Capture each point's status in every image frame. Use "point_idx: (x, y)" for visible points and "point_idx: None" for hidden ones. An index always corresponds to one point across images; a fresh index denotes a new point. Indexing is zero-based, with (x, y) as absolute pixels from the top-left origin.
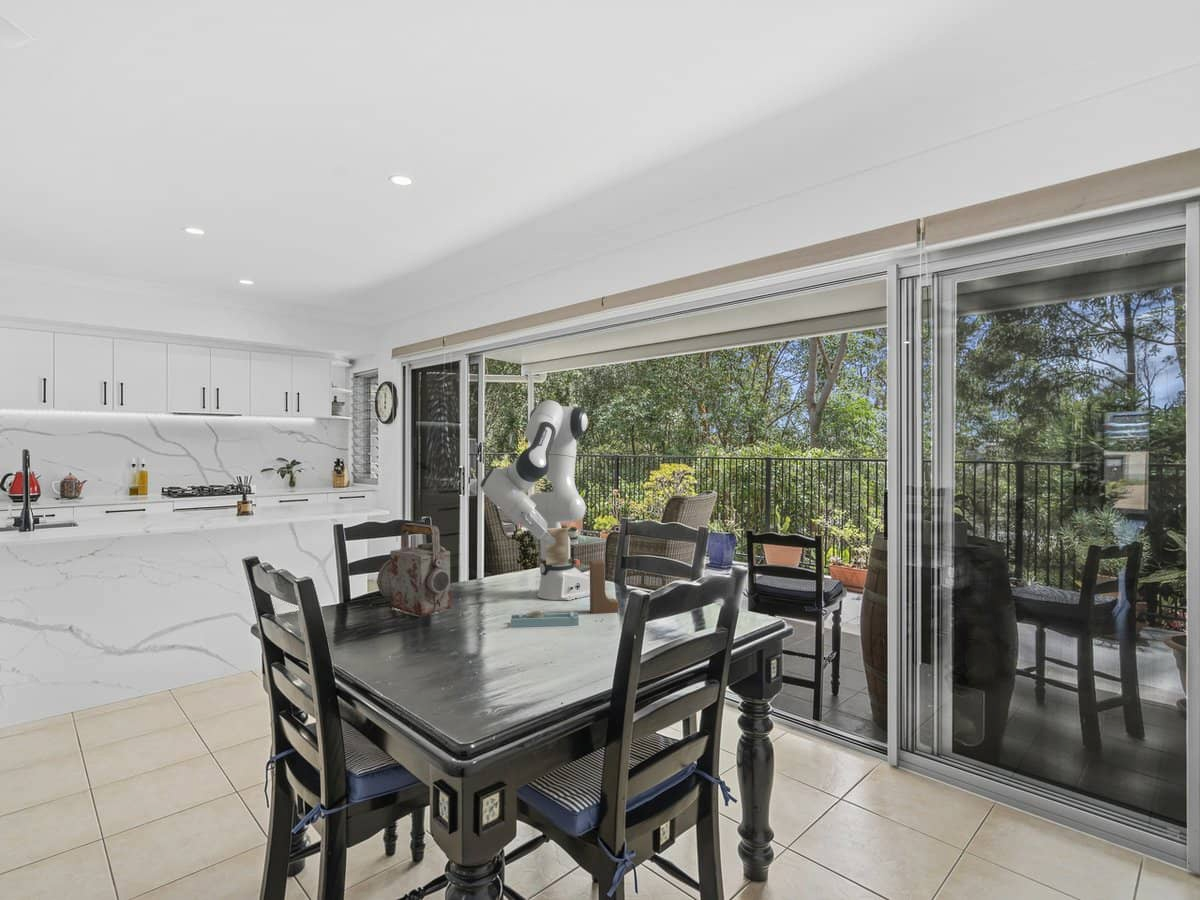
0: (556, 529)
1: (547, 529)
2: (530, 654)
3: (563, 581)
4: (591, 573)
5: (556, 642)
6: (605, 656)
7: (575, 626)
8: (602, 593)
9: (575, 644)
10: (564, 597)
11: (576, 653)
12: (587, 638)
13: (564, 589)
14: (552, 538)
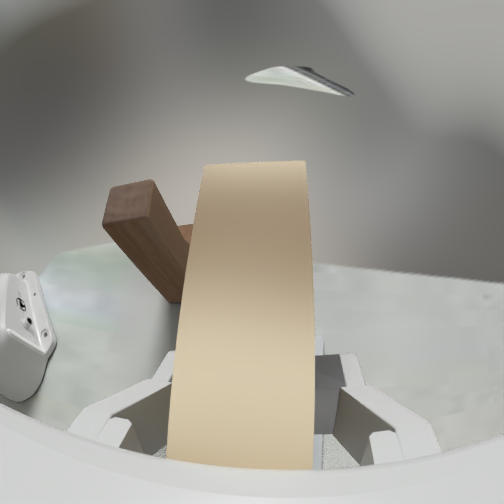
0: (313, 305)
1: (299, 460)
2: (480, 434)
3: (18, 335)
4: (153, 243)
5: (414, 392)
6: (484, 285)
7: (315, 348)
8: (185, 246)
9: (428, 347)
10: (48, 346)
11: (477, 340)
12: (387, 321)
13: (29, 339)
14: (363, 384)
